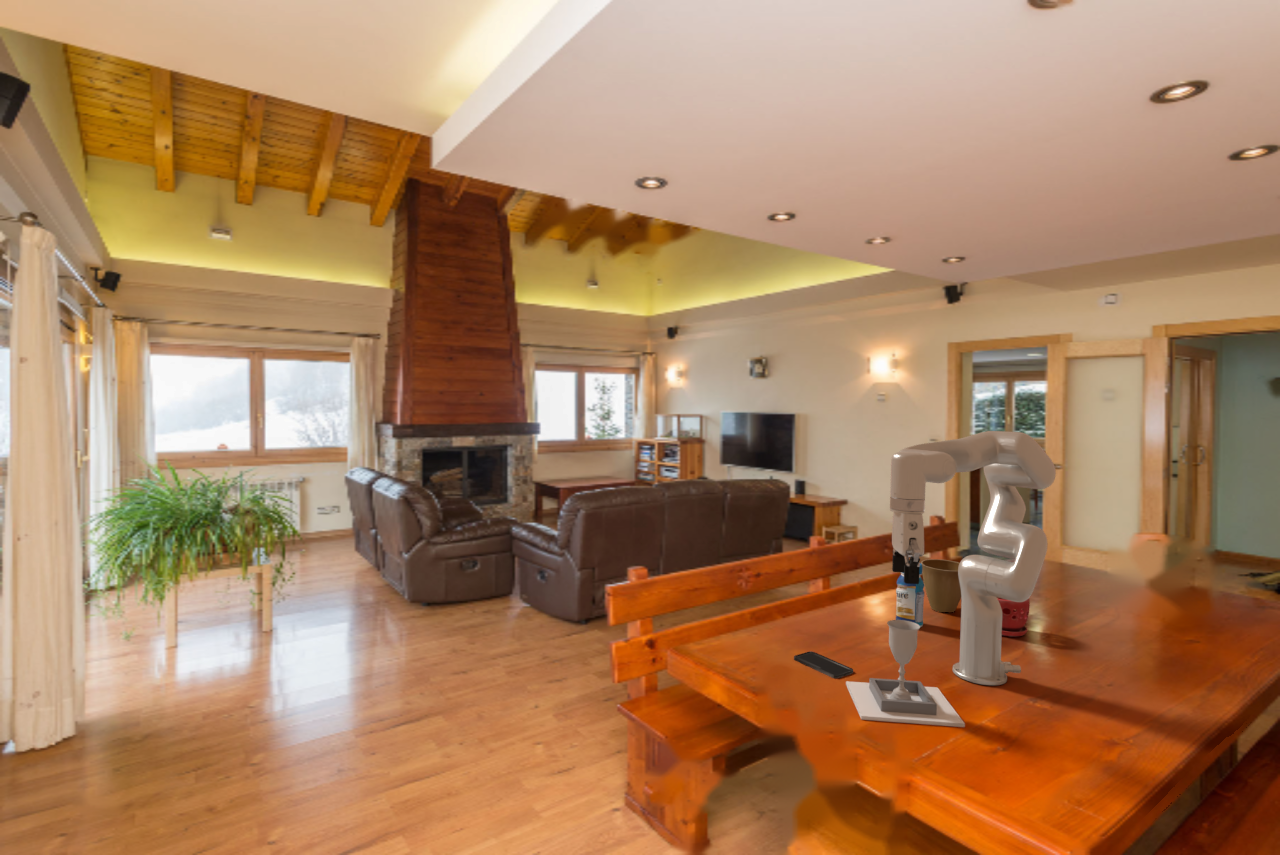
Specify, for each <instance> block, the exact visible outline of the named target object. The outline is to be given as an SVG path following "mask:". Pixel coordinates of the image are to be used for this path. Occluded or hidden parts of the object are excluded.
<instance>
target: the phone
mask: <svg viewBox="0 0 1280 855" xmlns="http://www.w3.org/2000/svg"><path fill="white" fill-rule="evenodd" d="M793 660H794V661H795V662H797V663H800V664H802V665H805V667H808V668H810V669H812V670H815V671H817V672H819V673H821V674H824V675H826V676H828V677H830V678H832V679H839V678H840V679H841V678H843V677H846V676H850V675H851V674H854V669H853V668H852V667H849V666H847V665H844V664H843V663H841V662H839V661H836V660H835V659H831V658H828V657H827V656H824V655H822V654H820V653H818V652H815V651H813V650H812V651H810V650H809V651H806V652H802V653H798V654H795V655H794V656H793Z"/></svg>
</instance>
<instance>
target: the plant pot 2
mask: <svg viewBox="0 0 1280 855" xmlns="http://www.w3.org/2000/svg"><path fill="white" fill-rule="evenodd" d="M997 599H998V601H999V603H1000V606H1001V609H1002V636H1005V637H1013V638H1014V637H1021V636H1024V635H1026V634H1027V632H1028V627H1026V626H1025V625H1026V624H1027V621H1028V620H1029V619H1028V618H1029V615H1030V598H1029V599H1027V600H1026V601H1024V602H1014V601H1010V600H1006V599H1002V598H998V597H997Z"/></svg>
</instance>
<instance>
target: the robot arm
mask: <svg viewBox="0 0 1280 855" xmlns="http://www.w3.org/2000/svg"><path fill="white" fill-rule="evenodd" d="M890 460H891V464H890V491H889V492H890V493H889V494H890V496H889V497H890V498H889V511H890V512H893V513H892V515H893V516H892V524H891V526H892V529H891V545H892V548H893V549H892V564H891V565H892V568H891V569H892V570H891V571H892V572H893V573H900V572H902V573H904V583H906V584H919V570H920V563H921V562H920V561H921V558H920V557H923V556H925V530H924V529H925V528H924V527H925V526H924V516H923V514H925V513H926V512H925V511H926V509H925V508H926V483H932V484H945V483H947V482H949V481H951V480H952V479H953V478H954V477H955V475H956V473H967V472H973V471H975V470H978V469H981V468H983V474H984V477H985V480H986V483H987V487H988V491H989V493H990V494H989V495H990V502H989V505H988V508H987V510H986V513H985V516H984V519H983V522H982V524H981V526H980V529H979V532H978V536H977V545H978V548H979V549H980V550H981V551H983V552H985V553H988V554H989V555H993V556H994V555H995V556H998V557H1001V558H1002V557H1003V558H1008V559H1011V560H1014V561H1009V560H1003V559H1000V558H996V557H992V556H986V555H982V554H981V555H980V554H969V555H967V556H964V558H962V559H961V560H960V562H959V563H960V564H959V567H958V577H959V582H960V588H961V599H960V600H961V602H960V604H961V605H960V608H961V609H960V635H959V638H960V639H959V660H958V661H957V662H955V663H954V664H953V665H952V672H953V674H955V676H957V677H958V678H960V679H962V680H964V681H967V682H970V683H973V684H978V685H983V686H1000V685H1004V684H1006V683H1007V681H1008V676H1007V674H1009V673H1012V674H1013V673H1014V674H1021V672H1022V667H1021V665H1020V664H1012V663H1011V661H1003V660H1001V659H1002V639H1003V638H1002V636H1003V635H1002V609H1001V606H1000V603H999V601H998V598H1002V599H1006V600H1010V601H1014V602H1024V601H1026V600H1027V599H1029V600H1030V597H1031V595H1032V594H1033V593H1034V591H1035V588H1036V585H1037V583H1038V579H1039V577H1040V574H1041V570H1042V567H1043V565H1044V561H1045V559H1046V556H1047V552H1048V539H1047V538H1048V537H1047V535H1046V533H1045V531H1044V530H1043V529H1042V528H1040V527H1038V526H1037V525H1033V524H1029V523H1023V521H1024V518H1025V514H1026V512H1027V511H1026V510H1027V507H1026V504H1025V501H1024V499H1023V497H1022V495H1020V493H1019V491H1018V489H1017V487H1018V488H1026V489H1034V490H1043V489H1047V488H1049V487H1051V486H1052V485H1053V483H1054V482H1055V480H1056V476H1057V475H1056V474H1057V473H1056V466H1055V464H1054V461H1053V460H1052V459H1051V457H1050V456H1049V455H1048V454H1047V453H1046V451H1045V450H1044V449H1043V448H1042V446H1041V445H1040V444H1039V443H1038V442H1037V441H1036V440H1035V439H1034V438H1033V437H1032V436H1031V435H1029V434H1028V433H1024V432H1020V431H1007V430H1006V431H1004V430H1002V431H1001V430H988V431H982V432H979V433H974V434H971V435H968V436H965V437H961V438H955V439H948V440H946V439H945V440H942V441H934V442H926V443H920V444H915V445H912V446H907V447H904V448H902V449H900V450H899V451H898V452H895V453H893V455H892V456H891V458H890ZM902 573H901V574H902ZM997 597H998V598H997Z"/></svg>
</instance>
